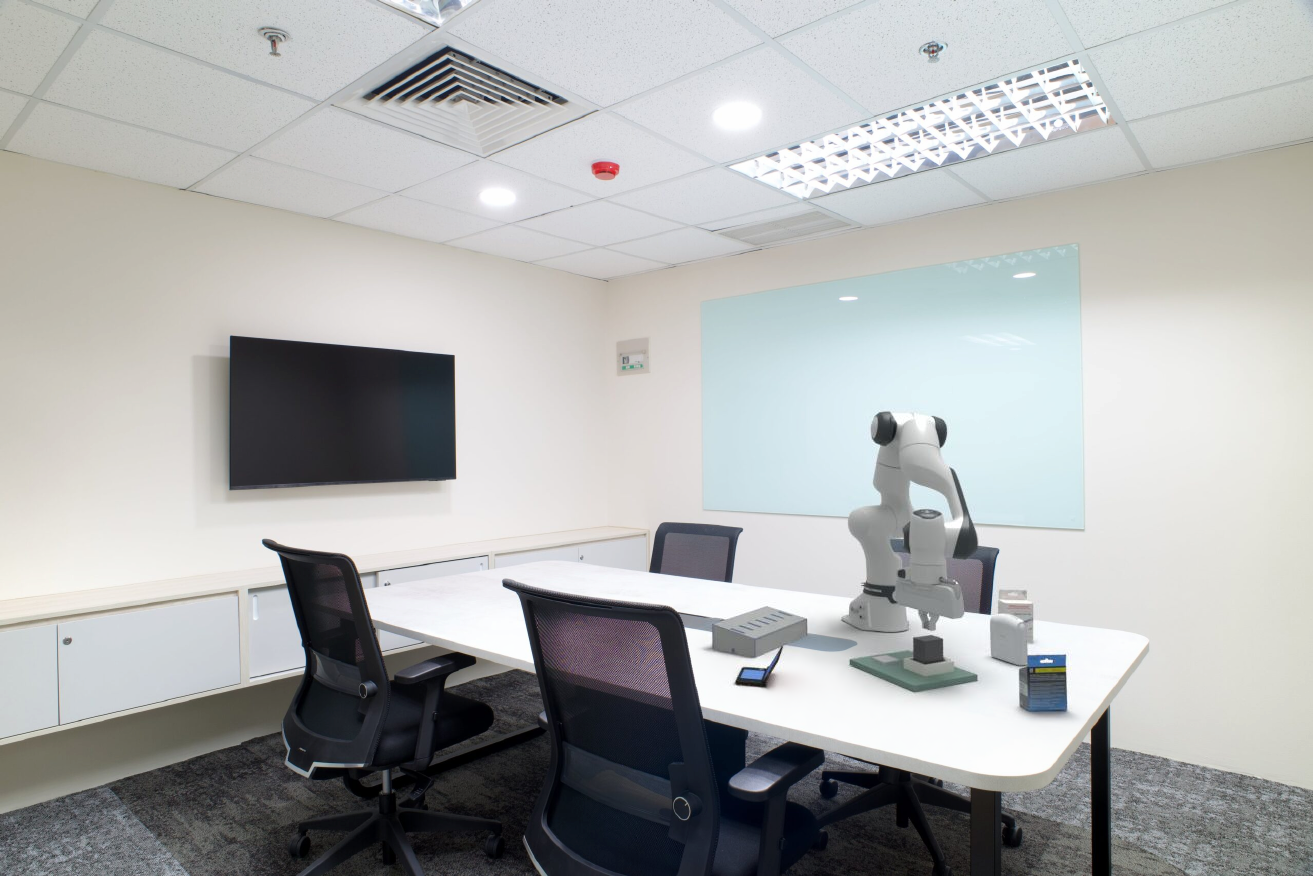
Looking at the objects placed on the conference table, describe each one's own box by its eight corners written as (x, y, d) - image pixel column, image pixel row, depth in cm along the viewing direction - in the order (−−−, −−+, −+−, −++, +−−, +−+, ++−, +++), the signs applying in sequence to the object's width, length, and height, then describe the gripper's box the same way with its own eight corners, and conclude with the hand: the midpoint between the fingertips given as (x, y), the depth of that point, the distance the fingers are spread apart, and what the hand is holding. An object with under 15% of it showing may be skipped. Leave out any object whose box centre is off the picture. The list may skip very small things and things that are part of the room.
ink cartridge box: (1003, 642, 217) (1003, 592, 217) (997, 638, 222) (997, 589, 222) (1034, 643, 216) (1033, 592, 217) (1027, 638, 221) (1026, 589, 222)
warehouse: (755, 659, 203) (755, 631, 203) (712, 650, 212) (712, 624, 213) (807, 637, 226) (807, 612, 227) (766, 630, 236) (766, 606, 236)
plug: (913, 669, 187) (913, 637, 187) (934, 665, 190) (934, 634, 190) (925, 673, 183) (924, 641, 184) (946, 670, 186) (946, 638, 186)
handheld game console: (742, 671, 193) (741, 642, 193) (783, 674, 190) (783, 645, 190) (734, 686, 180) (733, 655, 181) (778, 689, 178) (778, 658, 178)
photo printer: (987, 656, 203) (987, 611, 203) (1000, 655, 205) (999, 610, 205) (1018, 667, 193) (1017, 619, 194) (1030, 665, 195) (1030, 618, 195)
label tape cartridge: (1057, 704, 165) (1057, 649, 165) (1068, 711, 161) (1067, 654, 162) (1018, 705, 165) (1017, 650, 165) (1028, 712, 161) (1027, 655, 161)
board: (849, 664, 196) (849, 649, 196) (908, 655, 204) (908, 641, 204) (914, 692, 174) (914, 675, 174) (977, 680, 182) (977, 664, 182)
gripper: (969, 580, 178) (970, 637, 178) (909, 568, 197) (910, 620, 197) (950, 582, 176) (951, 640, 176) (890, 569, 195) (891, 622, 194)
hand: (928, 629), depth 186 cm, fingers closed
